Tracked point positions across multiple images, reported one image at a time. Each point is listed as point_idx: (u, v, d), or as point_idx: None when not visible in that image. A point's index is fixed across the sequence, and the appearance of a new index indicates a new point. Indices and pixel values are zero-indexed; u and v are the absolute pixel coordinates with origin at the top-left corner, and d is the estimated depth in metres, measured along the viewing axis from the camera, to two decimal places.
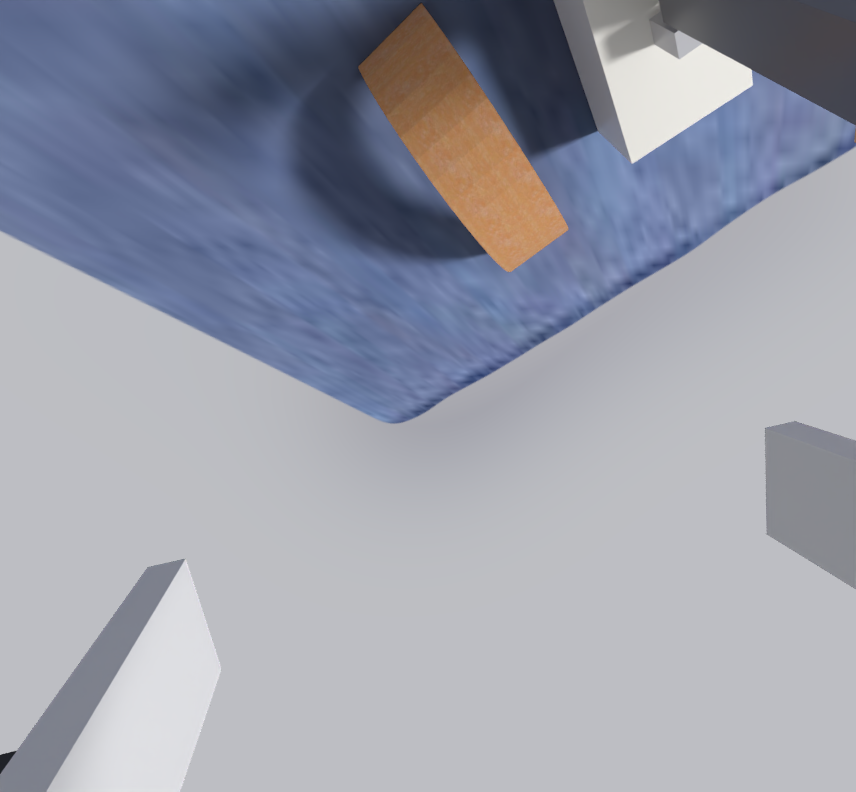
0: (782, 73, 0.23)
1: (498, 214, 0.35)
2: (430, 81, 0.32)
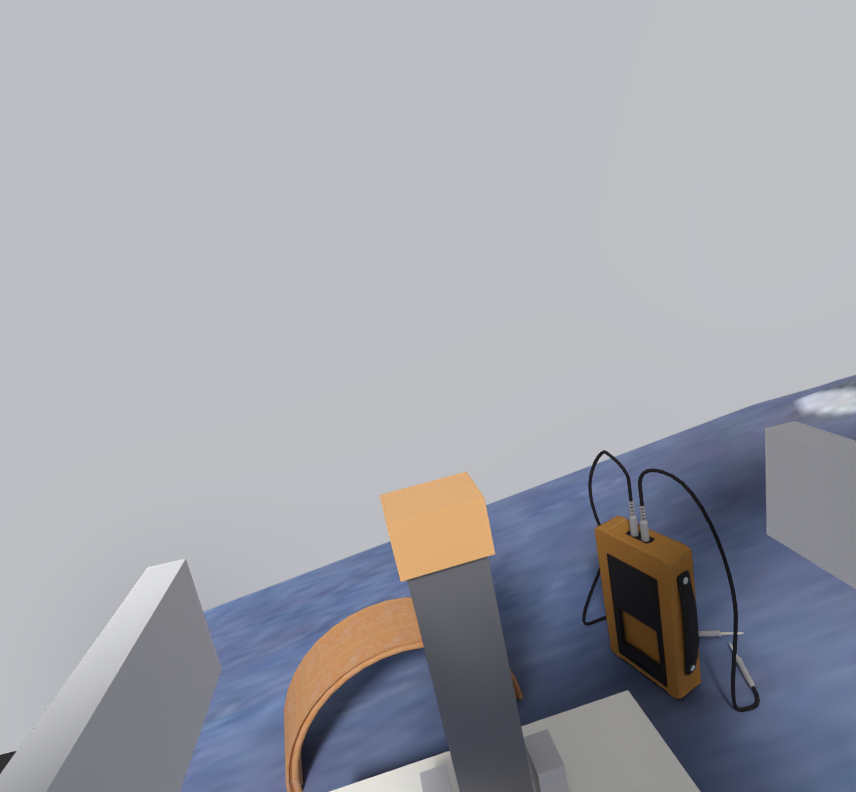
0: None
1: (379, 620, 0.43)
2: None
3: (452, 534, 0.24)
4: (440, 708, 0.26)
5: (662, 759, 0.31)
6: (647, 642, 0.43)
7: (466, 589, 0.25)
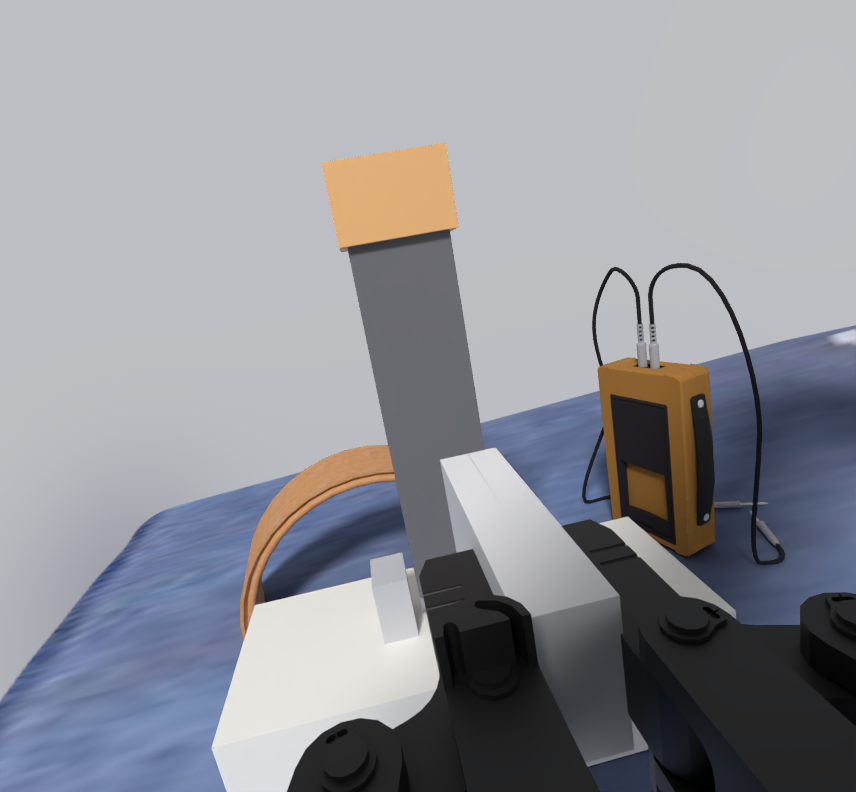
0: None
1: (356, 457, 0.38)
2: None
3: (404, 189, 0.19)
4: (389, 442, 0.22)
5: (664, 565, 0.26)
6: (654, 498, 0.37)
7: (422, 278, 0.20)
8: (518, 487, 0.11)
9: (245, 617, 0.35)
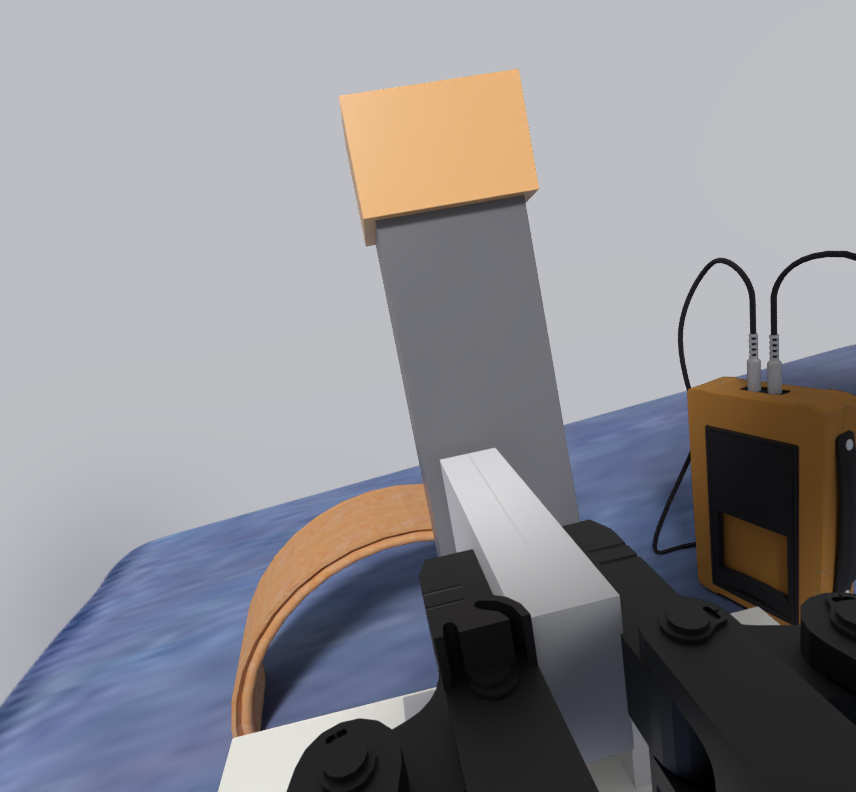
0: None
1: (384, 503, 0.29)
2: None
3: (460, 135, 0.13)
4: (436, 515, 0.14)
5: None
6: (764, 562, 0.28)
7: (485, 265, 0.14)
8: (518, 487, 0.11)
9: (238, 720, 0.26)
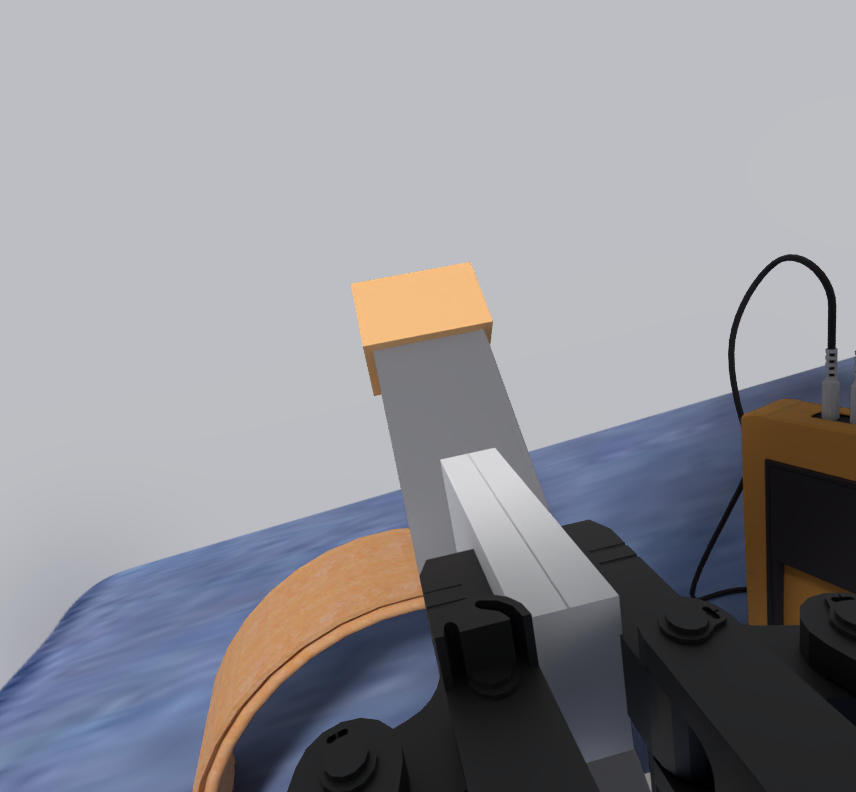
0: None
1: (379, 556, 0.24)
2: None
3: (432, 296, 0.19)
4: None
5: None
6: None
7: (458, 373, 0.17)
8: (518, 487, 0.11)
9: None
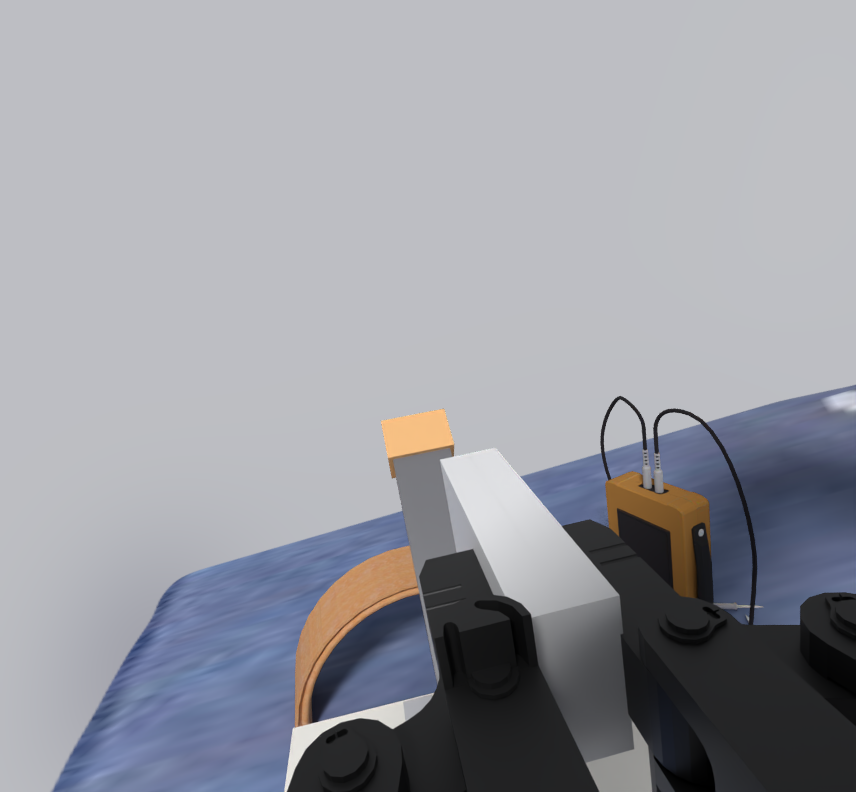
0: None
1: (401, 562, 0.40)
2: None
3: (423, 429, 0.36)
4: (417, 575, 0.31)
5: None
6: None
7: (436, 472, 0.35)
8: (518, 487, 0.11)
9: (299, 719, 0.37)
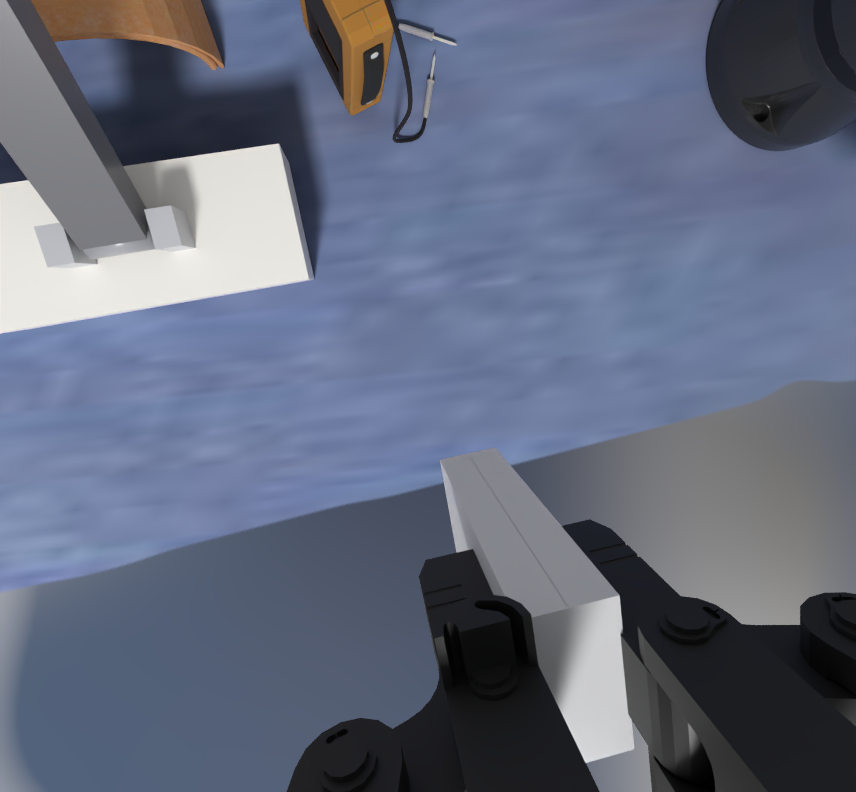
0: None
1: None
2: (161, 2, 0.32)
3: None
4: None
5: (284, 224, 0.36)
6: None
7: None
8: (518, 487, 0.11)
9: None
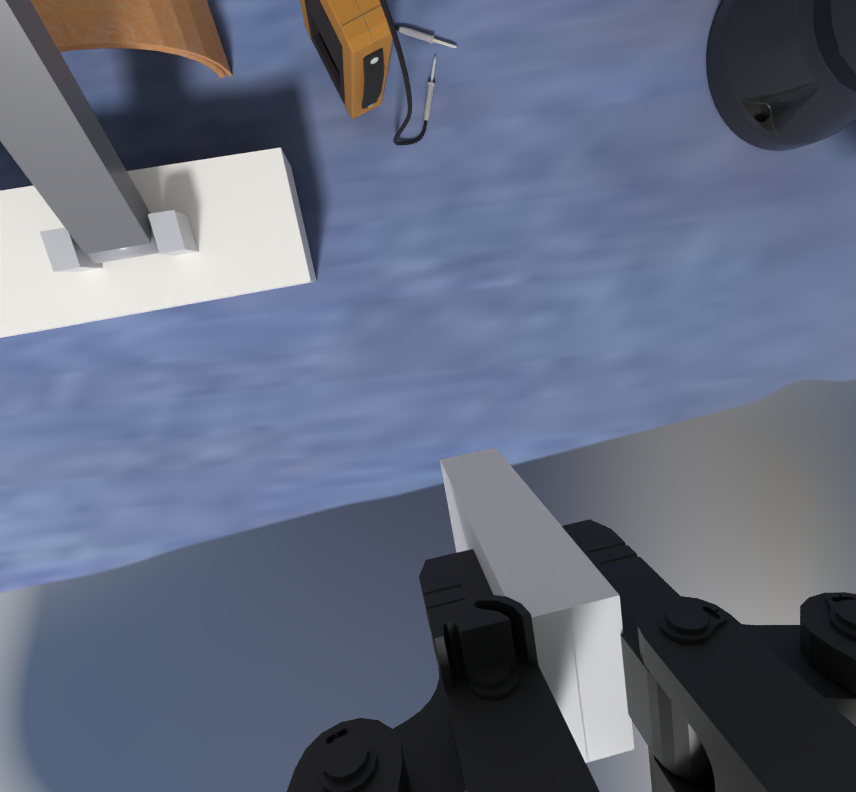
0: None
1: None
2: (171, 12, 0.33)
3: None
4: None
5: (286, 227, 0.36)
6: None
7: None
8: (518, 487, 0.11)
9: None
